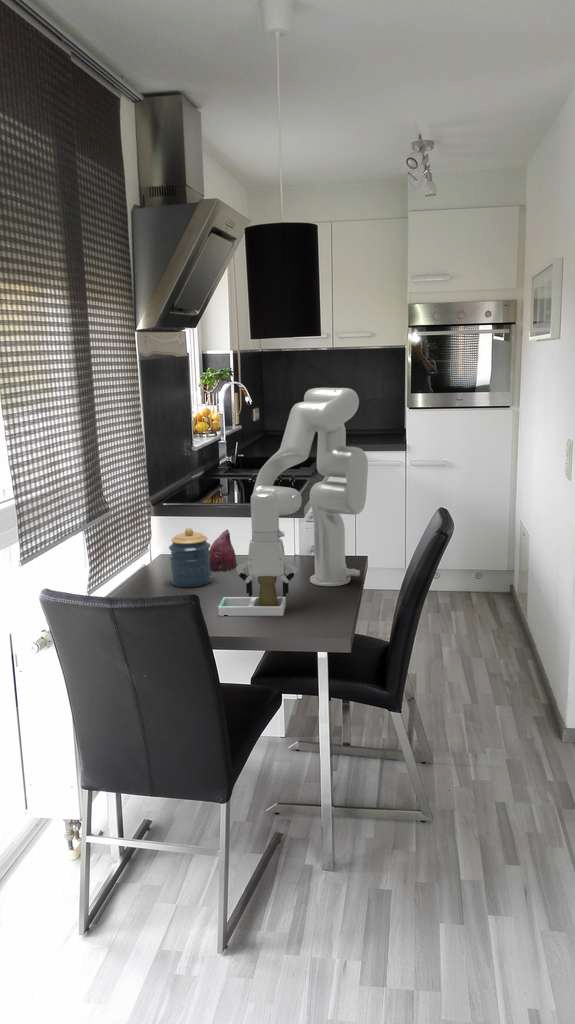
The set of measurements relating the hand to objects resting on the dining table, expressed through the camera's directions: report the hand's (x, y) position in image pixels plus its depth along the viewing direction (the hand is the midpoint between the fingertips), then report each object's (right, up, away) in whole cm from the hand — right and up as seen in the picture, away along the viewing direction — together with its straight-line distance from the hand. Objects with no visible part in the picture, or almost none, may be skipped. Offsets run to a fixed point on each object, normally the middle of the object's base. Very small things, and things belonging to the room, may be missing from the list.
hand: (267, 595), depth 231 cm
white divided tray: (-4, -4, +1) cm, 6 cm away
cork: (0, -5, +1) cm, 5 cm away
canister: (-25, +1, +31) cm, 40 cm away
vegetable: (-17, +4, +47) cm, 50 cm away
